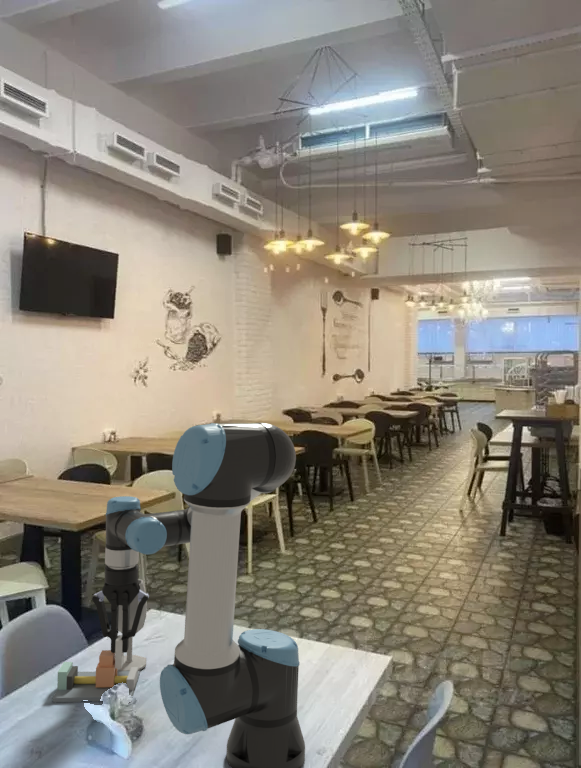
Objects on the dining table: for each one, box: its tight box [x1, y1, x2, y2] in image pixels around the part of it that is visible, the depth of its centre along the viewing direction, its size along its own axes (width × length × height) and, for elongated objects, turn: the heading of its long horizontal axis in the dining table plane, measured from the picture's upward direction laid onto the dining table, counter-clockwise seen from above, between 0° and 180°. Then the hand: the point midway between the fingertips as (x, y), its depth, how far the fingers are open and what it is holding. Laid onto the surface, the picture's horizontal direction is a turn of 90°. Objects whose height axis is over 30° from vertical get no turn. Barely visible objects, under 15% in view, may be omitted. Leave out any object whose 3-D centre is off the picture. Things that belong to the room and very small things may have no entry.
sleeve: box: [95, 649, 118, 687], centre depth 144 cm, size 5×4×7 cm
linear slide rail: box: [52, 661, 141, 703], centre depth 144 cm, size 12×17×5 cm
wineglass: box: [118, 578, 148, 672], centre depth 155 cm, size 9×9×21 cm
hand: (119, 665), depth 144 cm, fingers closed
